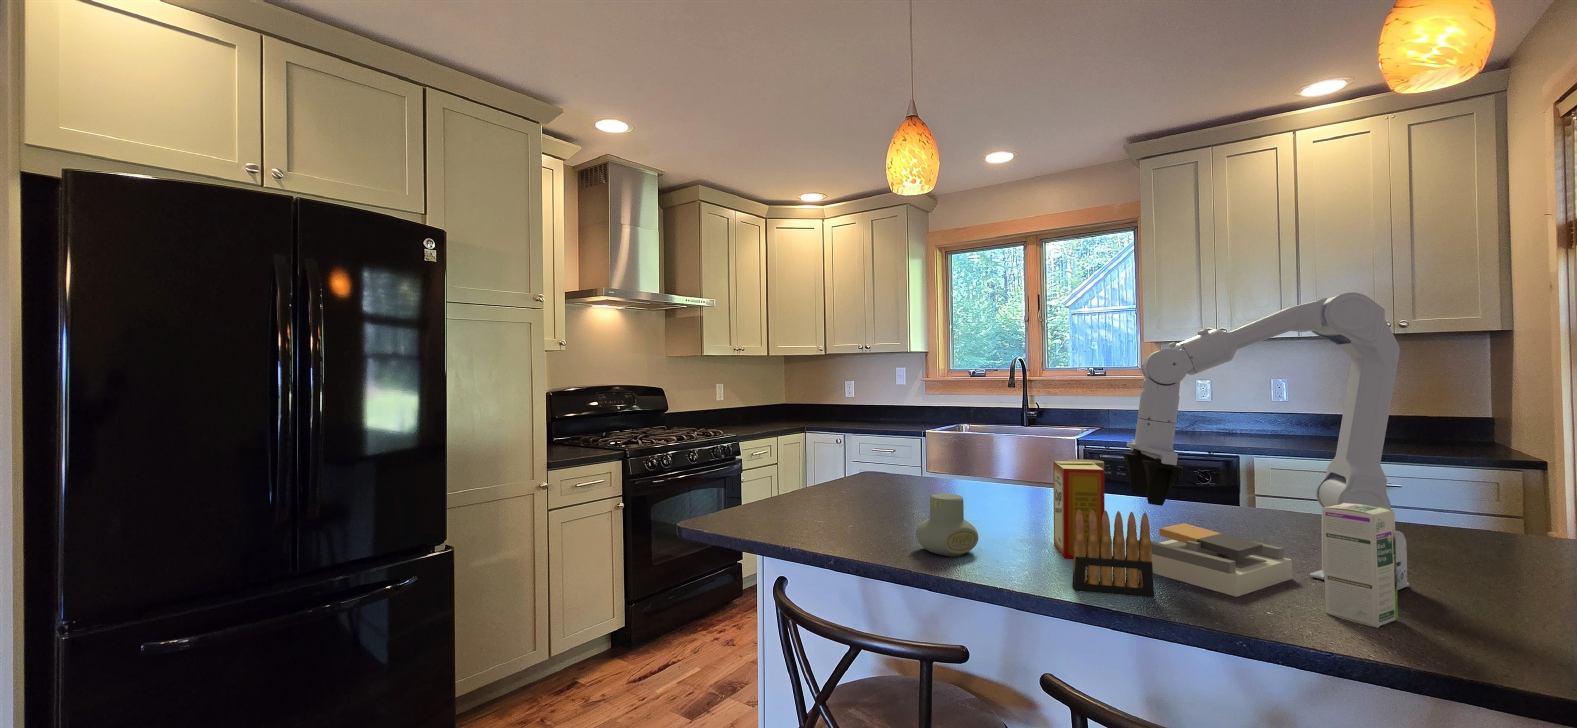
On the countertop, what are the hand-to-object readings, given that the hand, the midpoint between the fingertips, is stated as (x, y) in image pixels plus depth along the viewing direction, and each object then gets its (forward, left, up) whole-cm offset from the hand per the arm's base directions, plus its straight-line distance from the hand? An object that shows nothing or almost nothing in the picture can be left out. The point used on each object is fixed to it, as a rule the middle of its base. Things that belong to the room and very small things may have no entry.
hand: (1146, 499), depth 110 cm
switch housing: (-9, -3, -11) cm, 14 cm away
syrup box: (-29, -1, -11) cm, 31 cm away
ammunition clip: (-7, +19, -11) cm, 23 cm away
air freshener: (+21, +25, -11) cm, 35 cm away
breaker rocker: (-9, -3, -6) cm, 11 cm away
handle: (+14, -4, -11) cm, 18 cm away
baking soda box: (+9, +5, -11) cm, 15 cm away
